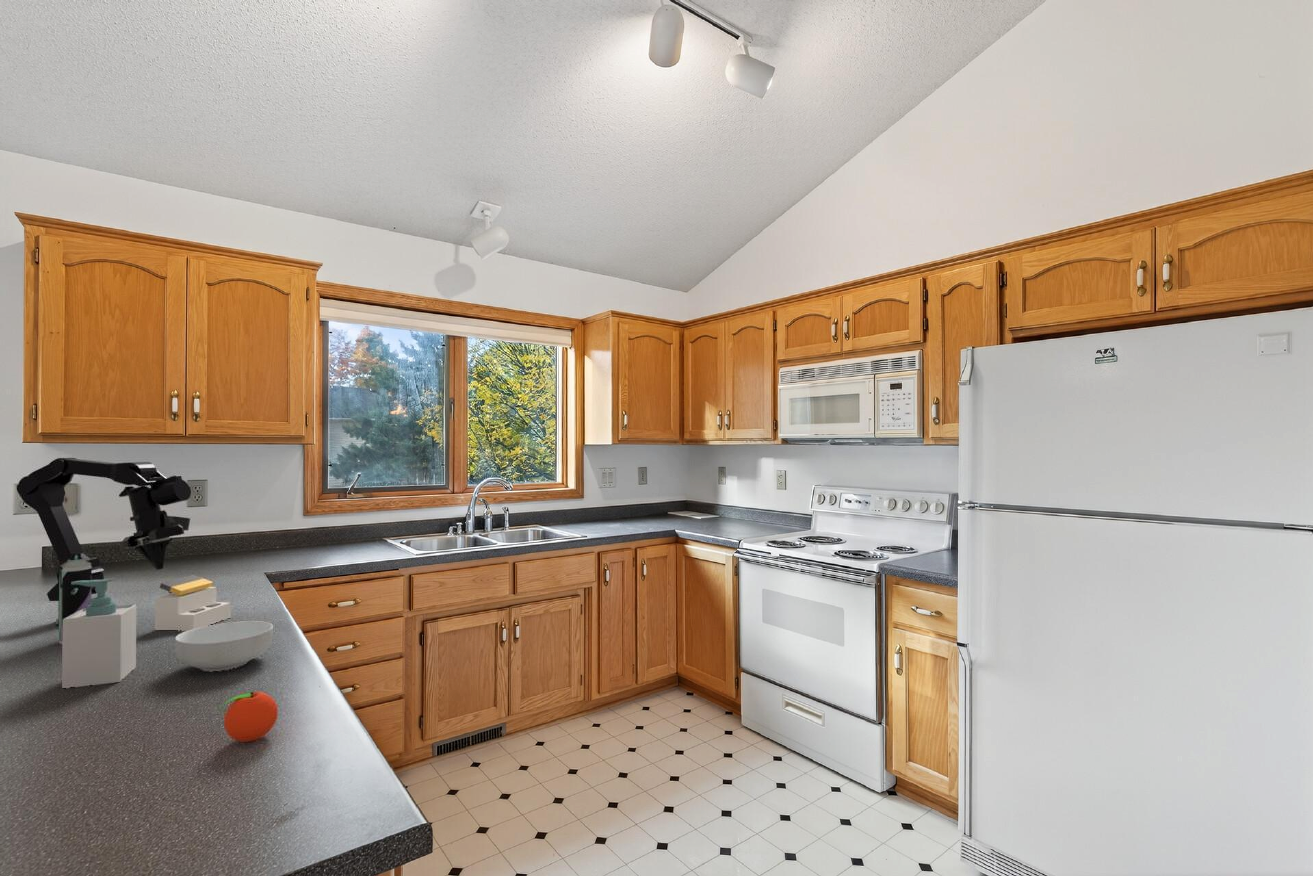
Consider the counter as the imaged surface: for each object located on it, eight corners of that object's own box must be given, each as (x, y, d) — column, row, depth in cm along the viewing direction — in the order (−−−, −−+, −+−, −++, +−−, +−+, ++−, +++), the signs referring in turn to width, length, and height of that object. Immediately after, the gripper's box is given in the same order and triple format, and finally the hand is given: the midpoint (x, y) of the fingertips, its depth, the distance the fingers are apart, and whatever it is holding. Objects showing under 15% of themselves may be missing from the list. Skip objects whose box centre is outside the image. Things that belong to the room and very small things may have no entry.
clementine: (210, 755, 92) (210, 705, 92) (221, 735, 98) (221, 689, 98) (274, 745, 95) (274, 697, 95) (280, 726, 101) (281, 681, 101)
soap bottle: (80, 674, 125) (81, 576, 125) (136, 668, 128) (137, 573, 128) (60, 689, 117) (61, 585, 117) (120, 682, 120) (120, 581, 120)
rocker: (158, 589, 155) (161, 583, 155) (191, 581, 165) (194, 574, 165) (179, 597, 155) (181, 590, 155) (211, 588, 165) (213, 582, 165)
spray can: (71, 645, 143) (72, 556, 143) (52, 643, 144) (53, 555, 144) (97, 637, 148) (98, 552, 149) (78, 636, 150) (79, 551, 150)
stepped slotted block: (155, 630, 154) (155, 597, 154) (194, 617, 166) (195, 586, 166) (193, 631, 153) (193, 598, 154) (230, 618, 165) (231, 587, 166)
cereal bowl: (284, 664, 130) (284, 629, 130) (184, 687, 118) (185, 649, 118) (259, 646, 141) (259, 615, 142) (166, 666, 129) (166, 631, 129)
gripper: (199, 498, 166) (213, 556, 166) (164, 509, 174) (176, 564, 174) (150, 506, 156) (164, 568, 156) (115, 518, 165) (128, 576, 164)
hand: (160, 569), depth 163 cm, fingers closed
